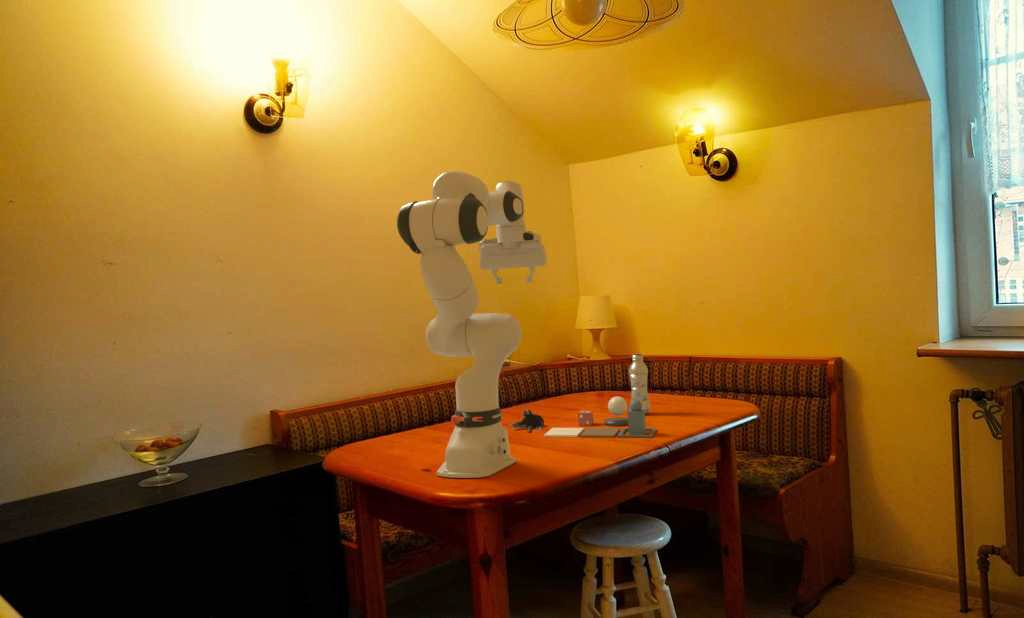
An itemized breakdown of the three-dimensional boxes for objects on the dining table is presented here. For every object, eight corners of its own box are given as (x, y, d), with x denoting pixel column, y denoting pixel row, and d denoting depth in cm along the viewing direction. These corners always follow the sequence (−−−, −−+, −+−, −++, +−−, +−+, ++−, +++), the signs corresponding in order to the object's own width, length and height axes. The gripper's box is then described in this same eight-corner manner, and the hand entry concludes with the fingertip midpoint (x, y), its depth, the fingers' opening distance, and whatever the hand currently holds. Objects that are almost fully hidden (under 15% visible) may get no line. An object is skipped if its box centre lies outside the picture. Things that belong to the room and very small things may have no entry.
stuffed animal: (530, 418, 238) (545, 401, 229) (540, 445, 233) (556, 429, 225) (499, 423, 232) (514, 406, 223) (509, 451, 227) (525, 435, 219)
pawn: (643, 435, 207) (642, 401, 207) (628, 435, 208) (626, 401, 208) (645, 432, 211) (644, 398, 211) (630, 432, 212) (629, 398, 212)
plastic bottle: (629, 416, 237) (626, 356, 236) (632, 412, 243) (629, 353, 243) (649, 416, 235) (646, 355, 234) (651, 412, 241) (648, 353, 241)
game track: (652, 437, 203) (652, 435, 203) (544, 436, 213) (544, 434, 213) (656, 430, 213) (656, 428, 213) (552, 429, 223) (552, 427, 223)
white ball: (626, 417, 222) (625, 398, 222) (607, 417, 224) (605, 398, 224) (629, 413, 228) (627, 394, 228) (610, 413, 230) (609, 395, 230)
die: (591, 425, 225) (590, 412, 225) (578, 425, 226) (577, 412, 226) (593, 423, 229) (592, 410, 229) (581, 423, 230) (580, 410, 230)
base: (630, 426, 221) (630, 423, 221) (601, 426, 223) (601, 422, 223) (634, 420, 229) (634, 417, 229) (607, 420, 232) (606, 417, 232)
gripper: (475, 239, 213) (478, 285, 214) (542, 234, 209) (545, 281, 209) (481, 240, 219) (483, 285, 220) (546, 235, 215) (549, 281, 215)
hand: (514, 283), depth 214 cm, fingers open, 8 cm apart
